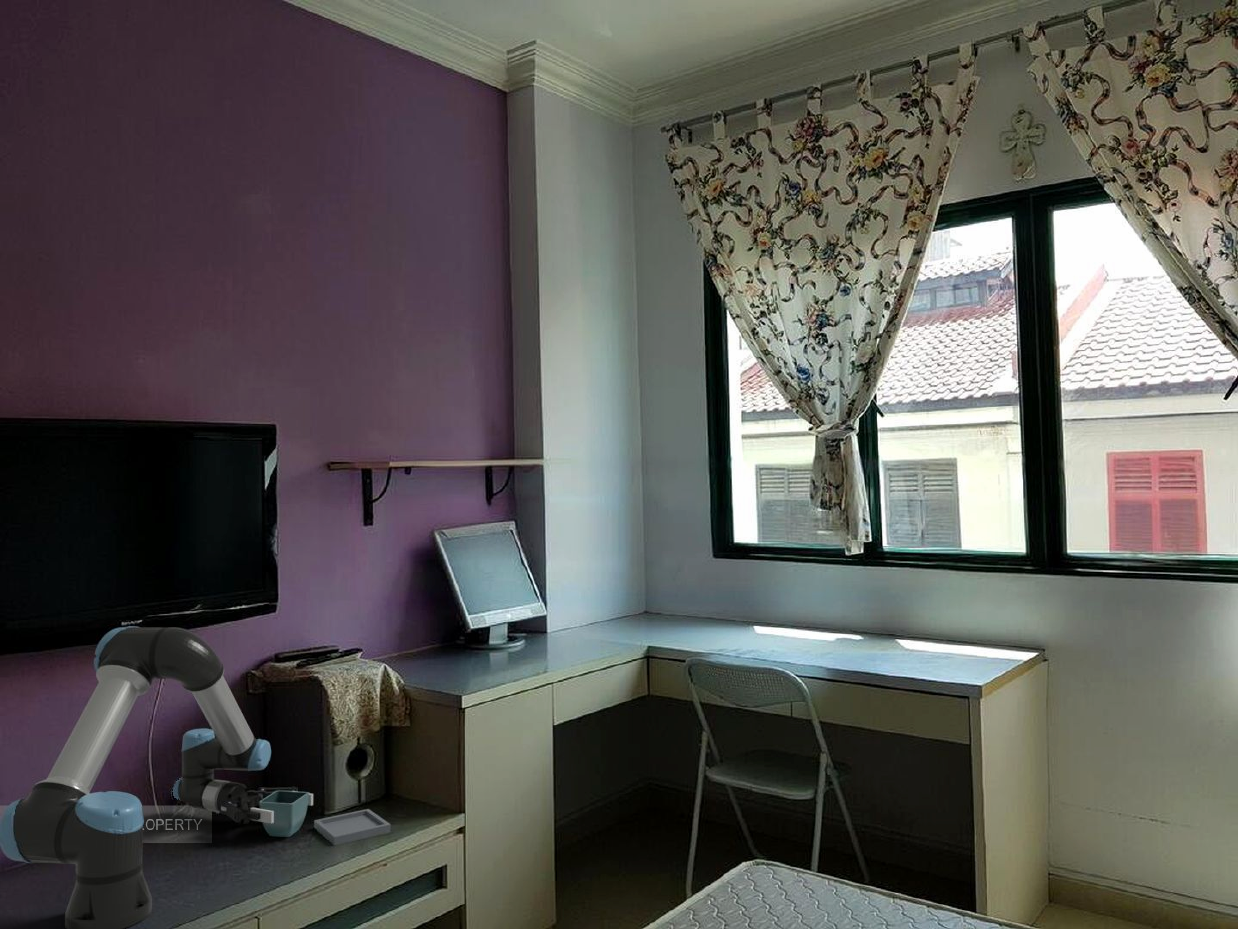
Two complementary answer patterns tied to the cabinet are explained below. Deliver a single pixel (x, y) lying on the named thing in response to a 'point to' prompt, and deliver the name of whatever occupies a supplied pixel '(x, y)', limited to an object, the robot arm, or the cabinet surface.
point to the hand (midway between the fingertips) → (293, 808)
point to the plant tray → (352, 826)
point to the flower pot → (285, 812)
